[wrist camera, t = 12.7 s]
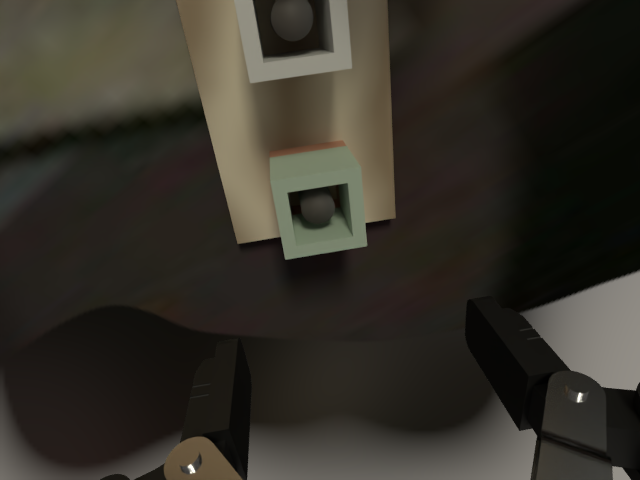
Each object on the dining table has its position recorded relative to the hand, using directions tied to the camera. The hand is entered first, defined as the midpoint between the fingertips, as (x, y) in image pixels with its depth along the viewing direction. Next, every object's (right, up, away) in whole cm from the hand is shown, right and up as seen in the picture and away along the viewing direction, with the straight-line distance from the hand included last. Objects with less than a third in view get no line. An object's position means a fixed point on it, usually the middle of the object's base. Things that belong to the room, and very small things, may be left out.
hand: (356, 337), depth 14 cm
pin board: (-3, +13, +13) cm, 18 cm away
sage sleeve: (-2, +8, +14) cm, 16 cm away
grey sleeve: (-3, +16, +9) cm, 19 cm away
